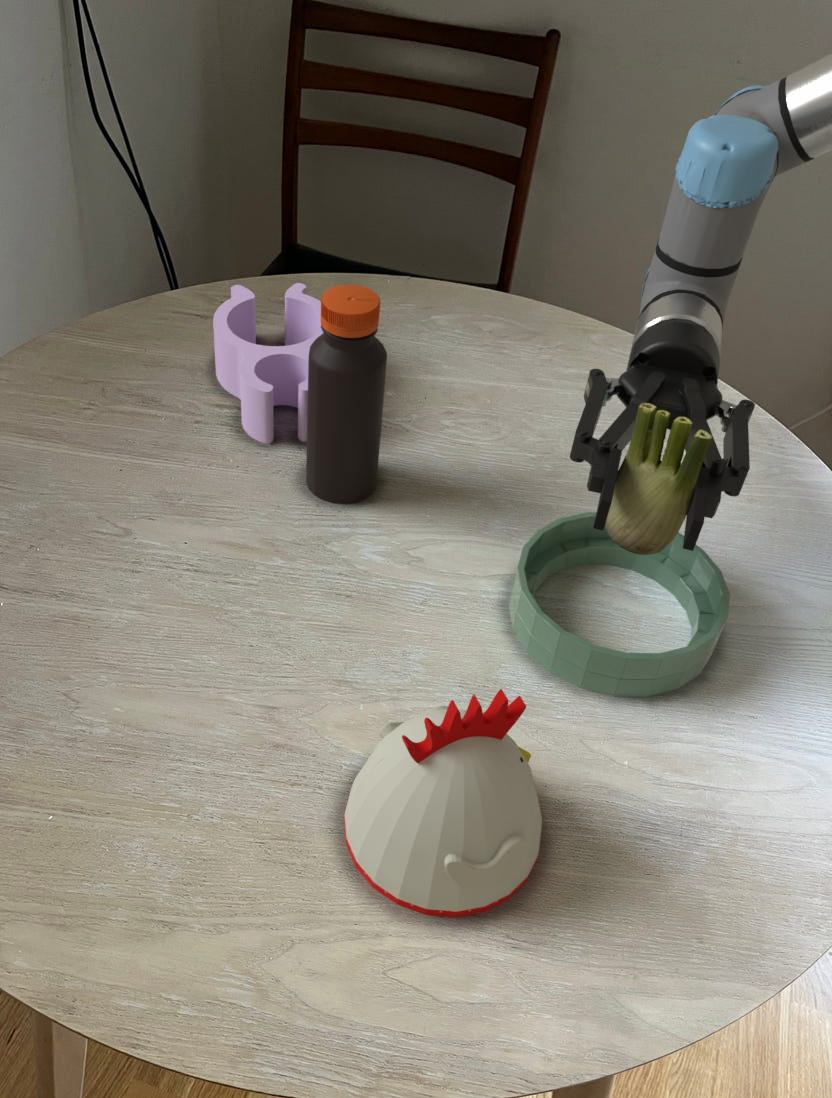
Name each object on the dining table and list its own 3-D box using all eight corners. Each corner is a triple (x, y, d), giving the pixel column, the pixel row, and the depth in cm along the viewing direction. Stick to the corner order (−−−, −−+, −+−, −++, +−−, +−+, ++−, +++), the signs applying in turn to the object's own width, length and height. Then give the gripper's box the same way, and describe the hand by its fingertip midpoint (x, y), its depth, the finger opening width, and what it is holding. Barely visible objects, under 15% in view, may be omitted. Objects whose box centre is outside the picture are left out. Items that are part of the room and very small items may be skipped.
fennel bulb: (679, 558, 84) (725, 432, 75) (625, 572, 83) (665, 445, 74) (639, 512, 88) (679, 387, 79) (587, 525, 86) (621, 399, 78)
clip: (348, 447, 108) (351, 388, 103) (223, 453, 106) (220, 394, 101) (323, 339, 121) (325, 282, 116) (212, 343, 119) (209, 285, 114)
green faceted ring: (715, 583, 97) (734, 537, 93) (702, 726, 85) (723, 681, 81) (527, 540, 99) (537, 494, 95) (490, 673, 88) (500, 627, 84)
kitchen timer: (570, 889, 75) (620, 760, 64) (387, 949, 71) (406, 823, 60) (485, 738, 83) (516, 601, 72) (317, 784, 80) (323, 648, 69)
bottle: (359, 460, 106) (371, 272, 92) (387, 502, 102) (405, 312, 88) (295, 475, 104) (297, 285, 90) (321, 518, 100) (328, 327, 85)
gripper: (770, 417, 94) (763, 593, 79) (558, 373, 97) (510, 535, 82) (801, 341, 89) (799, 514, 73) (575, 297, 91) (527, 455, 76)
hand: (647, 525), depth 77 cm, fingers closed on fennel bulb, 6 cm apart
